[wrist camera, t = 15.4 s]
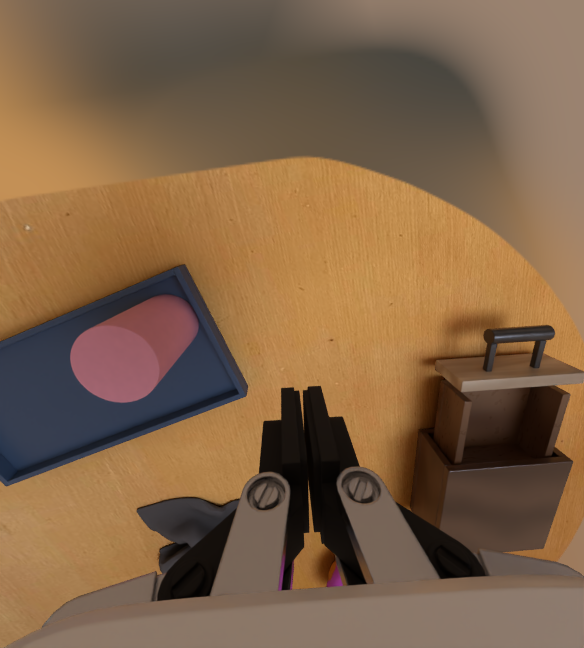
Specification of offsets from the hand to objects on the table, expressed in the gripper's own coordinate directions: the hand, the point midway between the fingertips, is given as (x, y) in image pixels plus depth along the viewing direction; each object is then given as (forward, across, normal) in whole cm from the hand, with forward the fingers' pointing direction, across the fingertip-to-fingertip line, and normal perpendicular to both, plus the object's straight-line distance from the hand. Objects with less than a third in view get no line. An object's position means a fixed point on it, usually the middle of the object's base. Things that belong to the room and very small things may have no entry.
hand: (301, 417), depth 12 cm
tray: (+18, +22, +8) cm, 30 cm away
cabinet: (+19, -23, +24) cm, 38 cm away
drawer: (+18, -23, +11) cm, 31 cm away
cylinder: (+18, +12, +1) cm, 22 cm away
